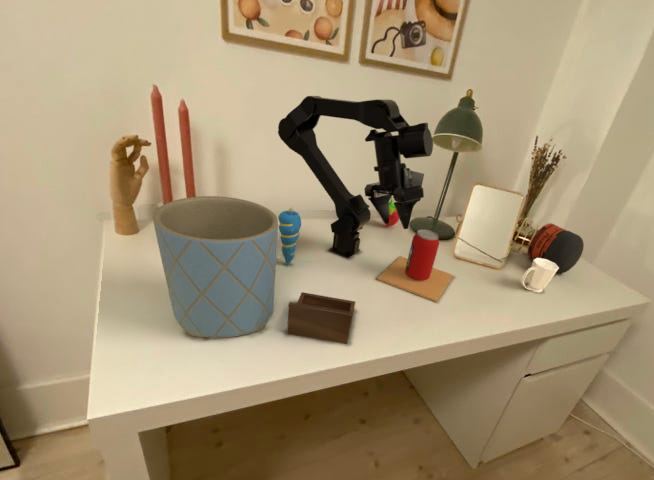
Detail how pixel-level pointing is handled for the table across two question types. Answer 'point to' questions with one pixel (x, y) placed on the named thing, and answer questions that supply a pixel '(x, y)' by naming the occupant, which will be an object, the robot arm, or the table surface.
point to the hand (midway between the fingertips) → (396, 226)
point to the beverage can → (422, 255)
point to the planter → (218, 263)
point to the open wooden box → (321, 318)
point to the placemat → (423, 288)
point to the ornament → (289, 233)
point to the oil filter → (556, 247)
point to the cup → (539, 274)
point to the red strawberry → (392, 214)
